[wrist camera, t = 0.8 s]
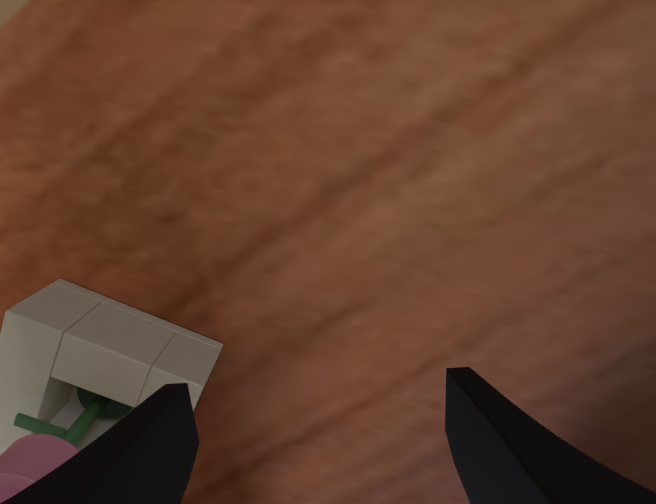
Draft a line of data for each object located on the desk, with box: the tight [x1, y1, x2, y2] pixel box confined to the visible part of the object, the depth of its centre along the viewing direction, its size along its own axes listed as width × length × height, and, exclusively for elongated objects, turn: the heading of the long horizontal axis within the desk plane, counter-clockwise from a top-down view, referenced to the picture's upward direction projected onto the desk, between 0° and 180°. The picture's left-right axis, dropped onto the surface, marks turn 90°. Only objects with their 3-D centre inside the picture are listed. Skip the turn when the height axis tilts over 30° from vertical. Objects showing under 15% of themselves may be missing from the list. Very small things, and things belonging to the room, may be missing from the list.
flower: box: [0, 387, 133, 503], centre depth 18 cm, size 3×4×9 cm
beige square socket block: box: [0, 279, 223, 456], centre depth 21 cm, size 9×9×4 cm
